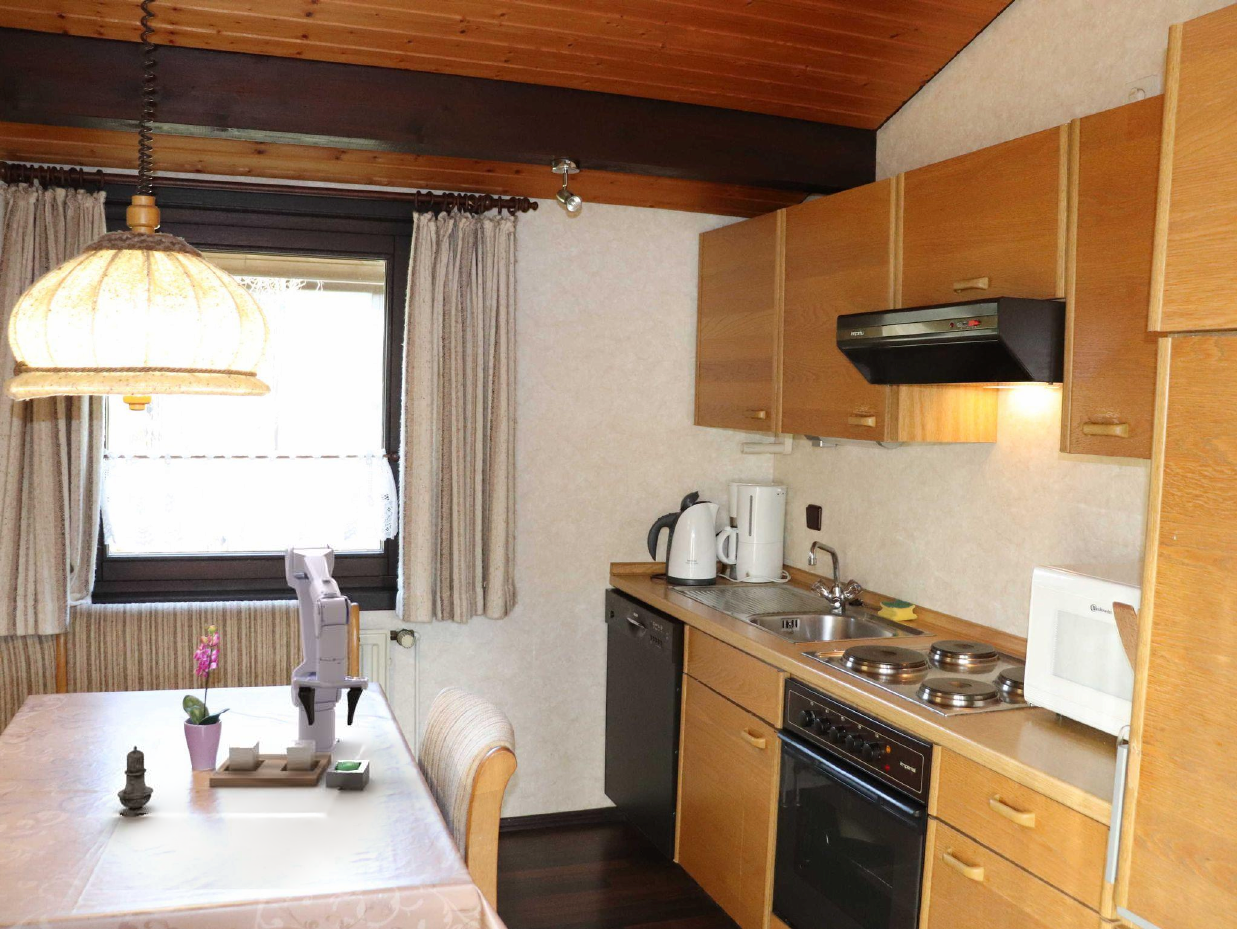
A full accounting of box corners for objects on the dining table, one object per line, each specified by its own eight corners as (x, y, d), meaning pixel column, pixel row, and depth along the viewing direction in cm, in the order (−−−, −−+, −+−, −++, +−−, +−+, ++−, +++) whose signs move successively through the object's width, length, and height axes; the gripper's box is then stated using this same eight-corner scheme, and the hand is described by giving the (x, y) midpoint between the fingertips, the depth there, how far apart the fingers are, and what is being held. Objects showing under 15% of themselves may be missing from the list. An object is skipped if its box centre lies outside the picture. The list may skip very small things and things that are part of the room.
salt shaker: (139, 819, 186) (139, 752, 186) (110, 816, 187) (109, 749, 187) (160, 807, 192) (160, 742, 191) (131, 804, 193) (131, 739, 193)
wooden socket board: (231, 764, 215) (231, 753, 215) (331, 764, 216) (331, 754, 216) (209, 789, 201) (209, 777, 201) (315, 789, 203) (316, 778, 202)
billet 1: (235, 769, 211) (236, 740, 210) (258, 769, 211) (259, 740, 211) (229, 777, 206) (229, 747, 206) (252, 777, 206) (252, 747, 206)
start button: (339, 775, 208) (339, 761, 208) (360, 775, 208) (360, 761, 208) (335, 782, 204) (335, 767, 204) (356, 782, 204) (356, 768, 204)
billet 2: (292, 769, 211) (292, 740, 211) (315, 769, 212) (315, 740, 211) (286, 777, 207) (286, 747, 207) (309, 777, 207) (310, 747, 207)
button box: (333, 777, 209) (333, 760, 209) (369, 777, 210) (369, 760, 209) (325, 790, 202) (326, 772, 202) (362, 790, 203) (363, 772, 202)
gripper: (289, 661, 208) (289, 729, 209) (364, 662, 209) (363, 730, 209) (298, 653, 215) (297, 719, 216) (370, 654, 216) (369, 719, 217)
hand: (330, 723), depth 213 cm, fingers open, 7 cm apart
